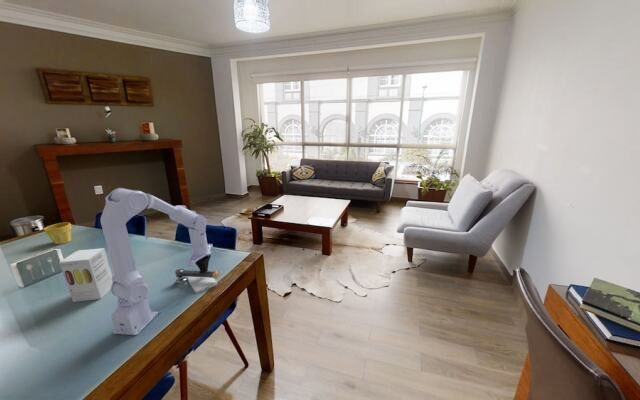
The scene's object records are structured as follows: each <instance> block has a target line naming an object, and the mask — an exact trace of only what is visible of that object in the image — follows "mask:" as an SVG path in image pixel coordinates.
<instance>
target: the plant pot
mask: <svg viewBox="0 0 640 400" xmlns="http://www.w3.org/2000/svg"><path fill="white" fill-rule="evenodd" d="M72 228H73V227H72V224H71V222H68V221H67V222H59V223H55V224H51V225H47V226H46V227H44V228H43V231H44V233H45V235H46V236H48V237H49V238H50V240H51V241H52V242H53V244H55V245H63V244H66V243H69V242H71V241H72V231H71V230H72Z"/></svg>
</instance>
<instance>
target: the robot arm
mask: <svg viewBox="0 0 640 400" xmlns="http://www.w3.org/2000/svg"><path fill="white" fill-rule="evenodd" d="M145 209H147V210H149V209H152V210H155V211H159V212H160V213H161V212H162V213H164V214H167V215H168V217H169V219H170V220H171V221H174V222H176V223H179V224H181V225H183V226H184V227H186V228H187V229H188V233H189V239H190V244H191V245H190V246H191V250H192V251H191V252H192V254H191V257H190V258H189V260H188V261H187V264H188V266H189V267H194V266H195V265H196V266H197V267H198V269H199V271H209V262H210V259H211V254H212V251H211V250H212V249H214V246H213V243H208V240H207V233H206V231H207V227H206V226H207V224H208V219H206V217H205V216H204V215H202V214H198V213H196V211H195V210H190V209H188V208H187V206H186V205H184V204H183V205H182V204H181V205H172V204H170V203H168V202H166V201H164V200H163V199H160V198H158V197H156V196H155V195H152V194H150V193H146V192H143V191H141V190H132V189H128V188H124V187H118V188H115V189H114V190H112V191H111V192H110V193H109V194H108V195H107V196H105V205H104V208H103V211H102V213H101V217H100V224H101V225H100V226H101V228H102V232H103V236H104V240H105V244H106V247H107V250H108V253H109V258H110V262H111V265H112V269H113V272H114V275H112V276H113V277H112V278H111V279H112V286H111V289H110V293H111V294H112V295H113V296H116V297H117V304H118V305H117V307H116V308H115V310H114V311H113V312H112V313H111V321H112V325H113V327H114V331H113V334H115V335H117V334H118V335H127V336H129V335H130V336H138V335H139V334H140V333H141V331H143V330H144V329H145V327H147V325H148V324H150V322H152V320H154V319H155V317H157V316H158V314H159V312H158V311H151V307H150V303H149V300H148V294H149V291H150V288H149V285H148V284H147V283H146V282H145V281H144V279H143V278H144V277H143V276H142V275H141V274H140V272H139V271H138V270H137V266H136V262H135V257H134V252H133V248H132V244H131V241H130V237H129V233H128V228H127V225H126V224H127V222H129V220H131V219H132V218H133V217H134V216H136V215H138V214H139V213H140V212H143V211H144V210H145Z"/></svg>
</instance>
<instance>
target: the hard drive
mask: <svg viewBox="0 0 640 400" xmlns="http://www.w3.org/2000/svg"><path fill="white" fill-rule="evenodd" d="M186 278H187V281H188V283H189V285H190V286H191V289H193V291H194V293H195V294H196V295H197V294H199V293H201V292H204V291H206V290H208V289H211V288H214V287H215V286H218V282H217V281H216V279H215V278H209V277H189V276H186Z"/></svg>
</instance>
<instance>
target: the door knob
mask: <svg viewBox="0 0 640 400" xmlns="http://www.w3.org/2000/svg"><path fill="white" fill-rule="evenodd" d="M187 281H188V280H187V276H182V277H177V278H176V279H175V284H177V285H180V284H181V285H182V284H184V283H185V282H187Z"/></svg>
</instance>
